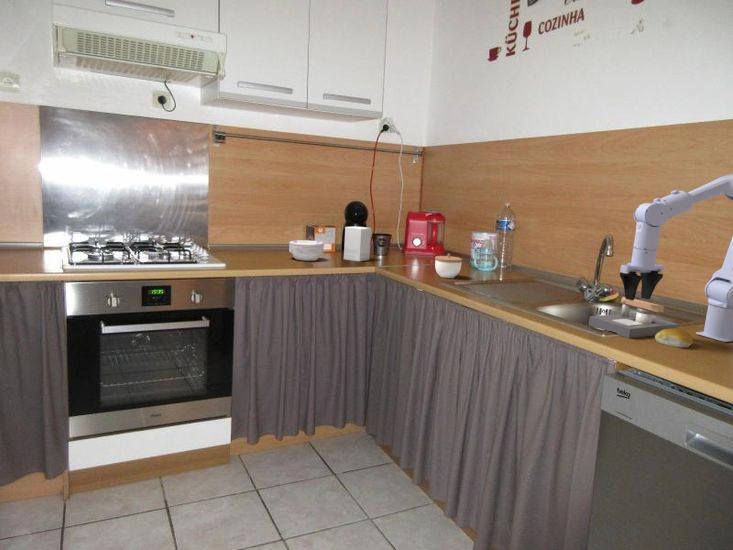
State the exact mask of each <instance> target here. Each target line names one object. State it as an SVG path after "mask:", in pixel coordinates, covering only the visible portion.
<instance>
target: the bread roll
mask: <svg viewBox="0 0 733 550" xmlns="http://www.w3.org/2000/svg"><path fill="white" fill-rule="evenodd" d="M654 339H655V341H656V342H657V343H658V344H661V345H664V346H668V347H674V348H679V349H683V348H684V349H686V348H689V347H690V346H691V345H693V343H694V339H693V336H692V335H691V334H690V333H689V332H687V330H684V329H682V328H681V329H680V328H678V329H677V328H672V329H664V330H661V331H660V332H658V333H657V334H656V335H654Z"/></svg>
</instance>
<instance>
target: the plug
mask: <svg viewBox="0 0 733 550" xmlns="http://www.w3.org/2000/svg"><path fill="white" fill-rule="evenodd" d="M636 313H637V314H636V320H635V321H636V322H640V323H643V324H651V323H652V317H653V316H654V311H651V310H648V309H644V308H640V307H637V309H636Z"/></svg>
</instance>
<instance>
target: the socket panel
mask: <svg viewBox="0 0 733 550" xmlns="http://www.w3.org/2000/svg"><path fill="white" fill-rule="evenodd" d="M630 309H631V305H629V304H625V303H622V306H621V313H619V314H606V315H592V316H591V315H590V316H589V318H588V319H589V321H588V326H589V327H594V328H596V329H599V330H603V331H605V330H607V331H606V332H608V331H613V332H616V333H617V334H619V335H618V336H620V335H621V336H622V337H624V338H627V339H632V338H633V339H635V338H645V337H653V336H656V334H657V333H658V332H660V331H661V330H664V329H672V328H677V329H679V323H676V322H672V321H668V320H665V319H661V318H657V317H653V316H652V323H651V324H643V323H640V322H636V321H635V320H636V314H637V312H630ZM617 334H616V335H617ZM621 336H620V337H621Z"/></svg>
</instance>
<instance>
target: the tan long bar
mask: <svg viewBox="0 0 733 550" xmlns="http://www.w3.org/2000/svg"><path fill="white" fill-rule="evenodd" d="M620 303H621V304H623V303H625V304H629V305H630V306H633V307H635V308H636V307H637V308H639V307H640V308H644V309H648V310H651V311H653V312H656V313H663V312H664V309H665V305H661V304H657V303H652V302H649V301H644V300H641V299H637V298H634V300H628V299H626V298H625V296H622V297H621V300H620Z"/></svg>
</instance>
